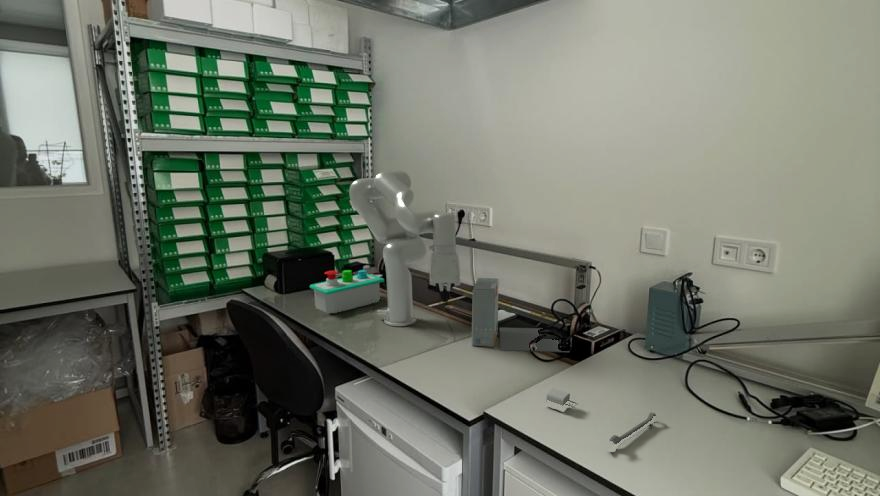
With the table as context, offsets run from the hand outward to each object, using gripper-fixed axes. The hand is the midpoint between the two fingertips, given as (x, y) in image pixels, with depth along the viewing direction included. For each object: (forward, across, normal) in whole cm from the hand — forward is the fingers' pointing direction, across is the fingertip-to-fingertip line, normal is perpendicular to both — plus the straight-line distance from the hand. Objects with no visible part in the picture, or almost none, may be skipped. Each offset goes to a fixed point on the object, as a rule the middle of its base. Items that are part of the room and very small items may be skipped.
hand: (445, 301), depth 161 cm
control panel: (+13, -46, +33) cm, 58 cm away
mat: (+13, +30, 0) cm, 33 cm away
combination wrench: (+14, +48, -55) cm, 74 cm away
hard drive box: (+13, +14, 0) cm, 19 cm away
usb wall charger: (+14, +34, -44) cm, 58 cm away
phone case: (+14, +18, +20) cm, 30 cm away
